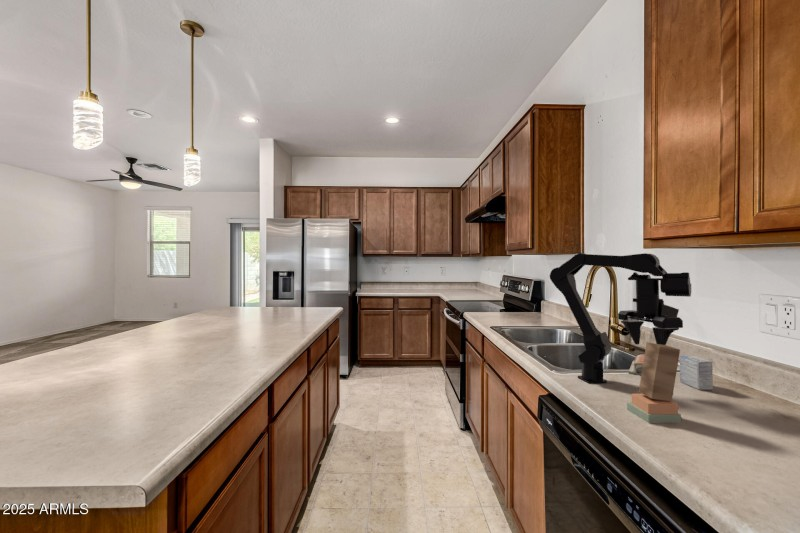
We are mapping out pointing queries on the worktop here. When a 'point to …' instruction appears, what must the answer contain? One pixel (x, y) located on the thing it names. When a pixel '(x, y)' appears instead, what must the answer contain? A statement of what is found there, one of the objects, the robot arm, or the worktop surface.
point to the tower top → (654, 405)
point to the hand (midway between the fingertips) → (648, 347)
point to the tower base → (653, 415)
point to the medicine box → (696, 372)
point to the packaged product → (637, 365)
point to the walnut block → (659, 371)
